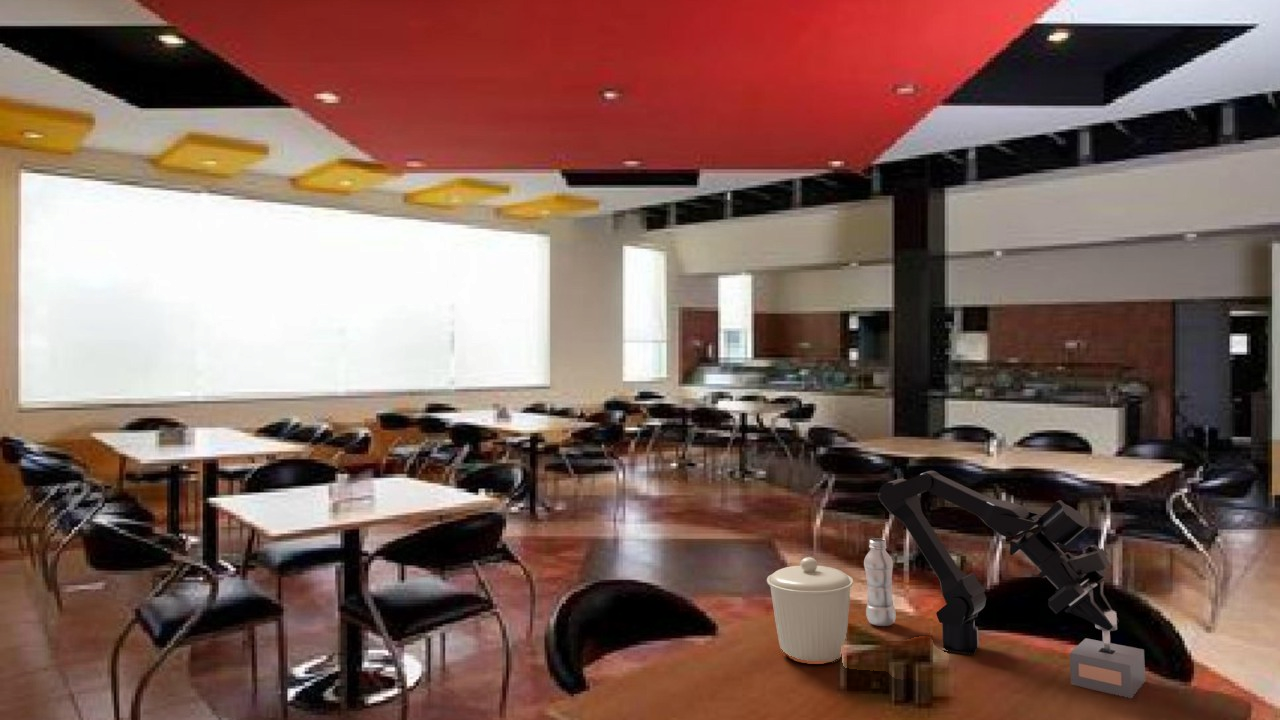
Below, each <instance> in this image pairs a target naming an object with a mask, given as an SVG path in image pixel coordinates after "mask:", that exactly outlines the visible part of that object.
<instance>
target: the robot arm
mask: <svg viewBox="0 0 1280 720" xmlns="http://www.w3.org/2000/svg"><path fill="white" fill-rule="evenodd" d="M925 492H929V493H930V494H933V496H934V495H935V496H936V497H938V498H941V499H943V500H945V501H947V502H949V503H950V504H953V505H955V506H957V507H958V508H961V509H963V510H965V511H967V512H969V513H971V514H974V515H975V516H976V517H978V518H980V520H982V522H983V523H984V524H985V525H986V526H987V527H989V528H990V529H992V530H993V531H994V532H996V533H997V534H999V535H1000V536H1002V537H1007V538H1012V537H1016V536H1017V535H1019V534H1022V533H1023V532H1026V533H1024V534H1023V535H1022V536H1021V537H1020V538H1019V539H1014V538H1013V539H1012V540H1010V541H1009V555H1010V556H1013V555H1015V554H1017V553H1019V552H1020V551H1021V552H1022V553H1023V555H1025V557H1027V559H1028V560H1029V561H1030V562H1031V563H1032V564H1033V565H1034V566H1035V567H1036V568H1037V569H1038V570H1039V571H1040V572H1039V573H1038V576H1040V577H1041V579H1044V578H1047V580H1048V581H1049V582H1050V583H1051V584H1052V585H1053V586H1054V587H1055V588H1056V590H1055V591H1054V592H1055V593H1054V594H1053V595H1051V596H1050V597H1049V598H1048V599H1047V605H1048V607H1049V608H1050V610H1051V611H1052V612H1054V614H1055V615H1057V614H1058V613H1060V612H1061V611H1062V610H1063V609H1065V608H1066V607H1067V608H1066V609H1065V610H1064V612H1066V613H1070V614H1072V615H1074V616H1077V617H1080V618H1081V619H1083V620H1086V621H1088V622H1090V623H1092V624H1094V625H1095V624H1096V625H1098V626H1100V627H1102V628H1104V629H1107V630H1110V629H1112V628H1113V626H1112V624H1111V623H1110V621H1109V620H1108V619H1107V617H1106V616H1105V615H1104V614H1103V612H1102V611H1101V610H1100V609H1108V610H1112V611H1114V609H1113V608H1112V607H1111V605H1110V603H1109V602H1108V599H1107V598H1106V596H1105V594H1104V584H1105V581H1104V580H1102V579H1103V578H1104V577H1106V576H1108V573H1107V572H1106V569H1107V568H1108V567H1110V566H1111V563H1110V560H1109V559H1108V555H1109V554H1108V552H1107V551H1105V550H1104V549H1103V548H1100V547H1099V546H1098V545H1096V544H1092V545H1089V546H1087V547H1085V549H1084V550H1085V553H1082V554H1080V555H1077V556H1074V555H1073V554H1072V553H1071V552H1068V551H1066V552H1065V553H1064V552H1063V550H1061V548H1060V547H1059V546H1057V545H1058V544H1061V545H1064V546H1065V545H1067V544H1069V543H1070V542H1071V541H1072V540H1074V539H1075V538H1076V537H1077V536H1078V535H1079V534H1081V533H1082V532H1083V531H1085V529H1087V528H1088V527H1089V524H1088V521H1087V519H1086V518H1085V516H1084V515H1083V514H1082V513H1081V512H1080V511H1079V510H1076V509H1075V508H1074V507H1072V506H1070V505H1068V504H1066V503H1064V502H1063V501H1062V500H1058V501H1055V502H1054V504H1052V506H1051V507H1050V508H1048V510H1046V512H1045V513H1044V514H1042V513H1037V512H1034V511H1029V510H1028V508H1026V507H1024V505H1021V504H1018V503H1014V502H1010V501H1007V500H1002V499H996V498H992V497H988V496H986V495H984V494H981V493H980V492H979V491H976V490H973V489H971V488H969V487H967V486H964V485H963V484H960V483H959V482H957V481H955V480H952V479H950V478H947V477H946V476H943V475H941V474H940V473H939V472H937V471H935V470H929V471H925V472H922V473H920V474H919V475H916V476H913V477H912V478H908V479H904V478H898V479H894V480H891V481H887V482H885V483H883V484H882V485H881V486H880V488H879V491H878V494H877V495H878V499H879V501H880V503H881V504H882V505H883V506H884V507H885V509H886V510H887V511H888V512H889V513H890V515H893V516H894V518H897V519H898V520H899V521H900V522H902V523H903V525H904V526H905V528H906V530H907V531H908V533H909V534H910V536H911V537H912V539H913V540H914V542H915V544H916V545H917V547H918V548H919V550H920V552H921V553H922V555H923V556H924V558H925V559H926V561H927V563H928V564H929V566H930V567H931V569H932V571H933V572H934V574H935V575H936V577H937V578H938V580H939V582H940V590H941V595H942V597H943V600H944V602H945V605H944V606H943V607H941V608H940V609H939V610H938V611H936V617H937V621H938V623H940V624H941V625H942V628H941V629H942V646H941V649H942V648H945V649H946V650H948V651H950V652H949V653H955V654H961V655H962V654H963V655H971V656H972V655H973V656H974V655H975V654H976V650H978V649H979V628H978V626H976V625H975V618H977V617H978V614H979V612H981V611H982V610H983V609H984V608H985V606H986V601H987V597H986V594H985V591H986V588H985V587H983V586H982V584H980V582H979V580H978V579H977V575H975V573H973V572H971V573H970V574H966V573H964V572H963V571H962V570H961V569H960V568H959V567H958V565H957V564H956V562H955V560H954V559H953V558H952V556H951V554H950V552H948V550H947V548H946V547H945V545H944V544H943V542H942V541H941V539H940V538H939V536H938V534H937V533H936V532H935V530H934V528H933V527H932V525H931V524H930V522H929V521H928V519H927V517H926V516H925V515H924V513H923V510H922V505H921V499H920V496H919V495H920V494H922V493H925ZM1037 527H1039V529H1037V530H1036V531H1035V532H1031V530H1033V529H1034V528H1037ZM1101 580H1102V581H1101ZM1100 581H1101V582H1100ZM1098 582H1099V583H1098ZM1119 622H1120V621H1119V619H1118V618H1117V624H1118V623H1119Z"/></svg>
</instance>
